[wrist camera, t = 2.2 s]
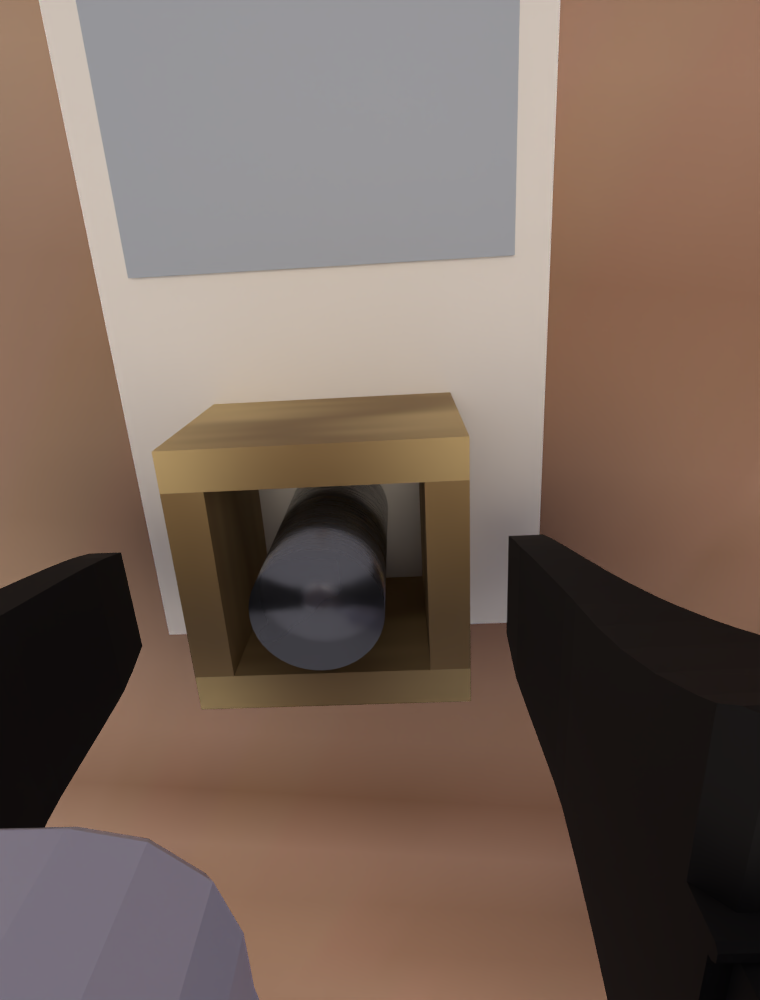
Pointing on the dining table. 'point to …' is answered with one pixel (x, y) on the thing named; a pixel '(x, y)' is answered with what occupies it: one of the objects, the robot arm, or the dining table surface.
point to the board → (323, 227)
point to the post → (324, 578)
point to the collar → (242, 548)
